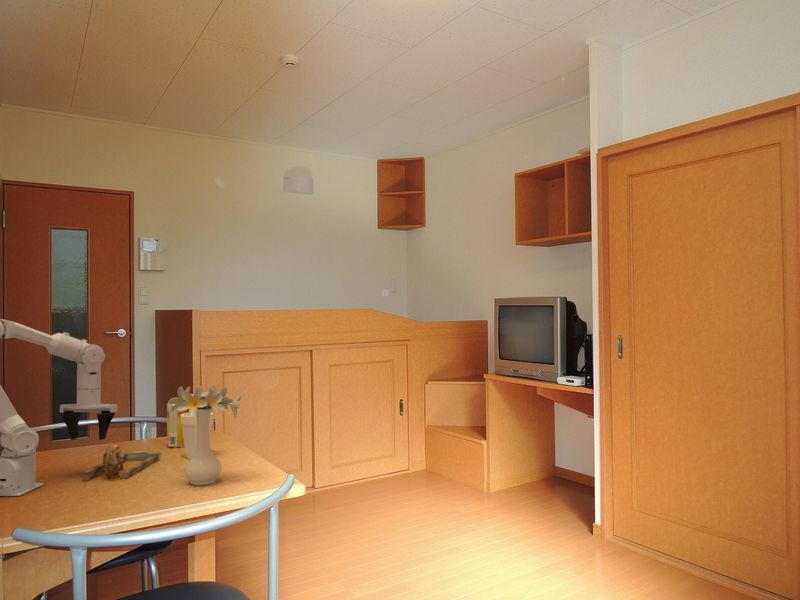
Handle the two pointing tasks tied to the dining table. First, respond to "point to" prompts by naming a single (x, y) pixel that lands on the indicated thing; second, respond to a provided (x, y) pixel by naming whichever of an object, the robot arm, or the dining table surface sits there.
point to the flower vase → (203, 429)
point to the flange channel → (143, 456)
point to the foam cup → (192, 432)
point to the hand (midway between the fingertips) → (88, 439)
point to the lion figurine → (113, 460)
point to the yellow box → (174, 427)
